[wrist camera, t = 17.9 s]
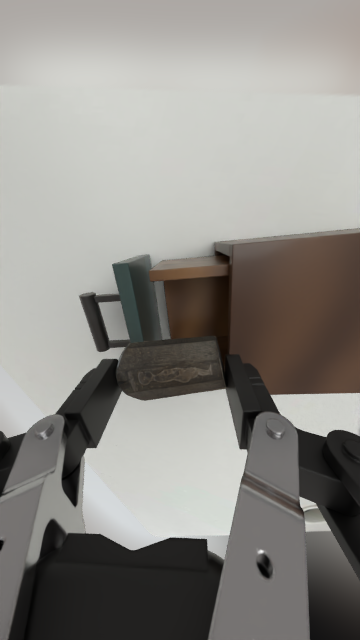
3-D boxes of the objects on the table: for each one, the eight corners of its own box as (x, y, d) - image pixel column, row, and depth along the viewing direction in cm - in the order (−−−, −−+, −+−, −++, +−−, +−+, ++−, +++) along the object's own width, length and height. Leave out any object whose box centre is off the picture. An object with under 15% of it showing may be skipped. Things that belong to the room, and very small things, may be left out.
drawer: (119, 346, 24) (92, 386, 18) (95, 259, 20) (47, 269, 13) (257, 340, 23) (285, 381, 16) (268, 243, 18) (313, 246, 11)
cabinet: (215, 342, 24) (228, 395, 16) (214, 242, 19) (232, 244, 11) (329, 337, 23) (407, 392, 15) (361, 228, 18) (509, 218, 10)
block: (225, 372, 11) (231, 396, 9) (136, 389, 12) (128, 413, 10) (212, 321, 10) (217, 339, 8) (113, 345, 11) (99, 365, 9)
